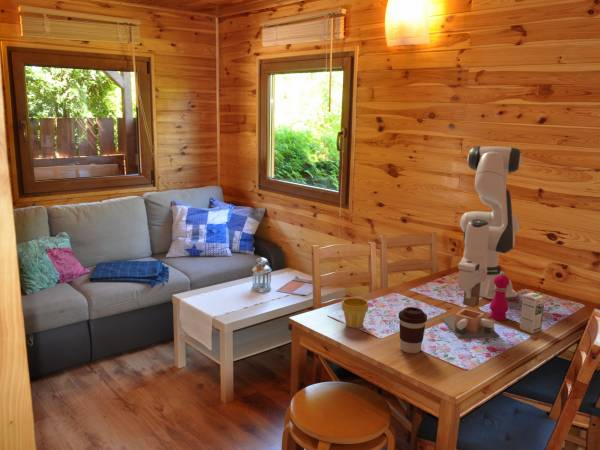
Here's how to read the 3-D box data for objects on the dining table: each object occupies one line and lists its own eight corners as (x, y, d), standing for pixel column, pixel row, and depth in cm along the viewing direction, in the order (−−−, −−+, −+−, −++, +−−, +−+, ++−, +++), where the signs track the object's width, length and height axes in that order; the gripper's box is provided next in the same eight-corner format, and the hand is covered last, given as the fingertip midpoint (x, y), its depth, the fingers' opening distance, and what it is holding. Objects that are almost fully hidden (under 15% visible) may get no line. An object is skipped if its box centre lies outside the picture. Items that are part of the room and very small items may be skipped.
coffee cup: (407, 357, 180) (409, 317, 177) (391, 345, 189) (393, 307, 186) (430, 352, 184) (433, 313, 181) (413, 341, 193) (416, 303, 190)
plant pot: (346, 317, 214) (347, 295, 212) (370, 322, 210) (371, 299, 207) (337, 326, 205) (338, 303, 203) (362, 332, 200) (363, 308, 198)
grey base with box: (441, 319, 214) (442, 305, 212) (478, 318, 215) (479, 305, 214) (458, 338, 196) (459, 323, 195) (498, 337, 198) (500, 322, 196)
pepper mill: (485, 317, 217) (490, 271, 213) (493, 312, 222) (497, 268, 218) (502, 322, 212) (507, 275, 208) (509, 317, 217) (514, 271, 213)
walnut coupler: (467, 301, 206) (469, 280, 205) (478, 304, 204) (480, 282, 202) (463, 304, 203) (465, 282, 201) (474, 307, 200) (476, 285, 198)
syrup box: (532, 333, 201) (536, 298, 198) (519, 328, 206) (522, 294, 203) (541, 330, 204) (545, 296, 201) (527, 325, 209) (531, 291, 206)
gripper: (476, 255, 210) (473, 287, 212) (456, 265, 194) (453, 300, 197) (492, 258, 206) (489, 291, 209) (472, 268, 190) (469, 304, 193)
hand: (471, 295), depth 203 cm, fingers closed on walnut coupler, 4 cm apart
